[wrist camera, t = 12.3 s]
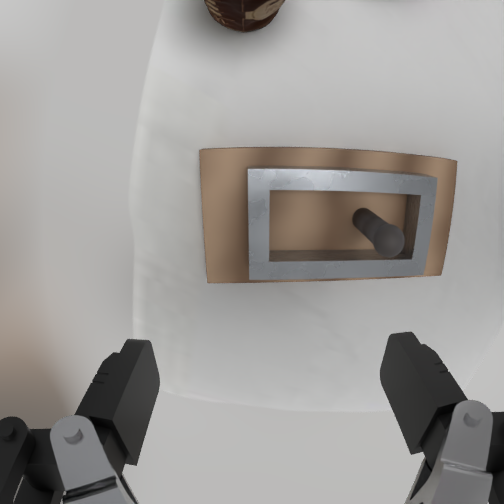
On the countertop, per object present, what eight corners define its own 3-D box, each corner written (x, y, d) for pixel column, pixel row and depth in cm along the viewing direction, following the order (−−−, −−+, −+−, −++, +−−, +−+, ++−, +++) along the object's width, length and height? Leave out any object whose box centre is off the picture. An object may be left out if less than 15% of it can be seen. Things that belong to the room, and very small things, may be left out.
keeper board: (446, 158, 27) (504, 173, 18) (432, 267, 31) (477, 309, 22) (202, 148, 27) (180, 156, 18) (210, 274, 31) (195, 327, 23)
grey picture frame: (423, 173, 25) (437, 177, 23) (411, 264, 29) (423, 275, 26) (248, 165, 26) (247, 168, 23) (249, 267, 29) (249, 279, 26)
